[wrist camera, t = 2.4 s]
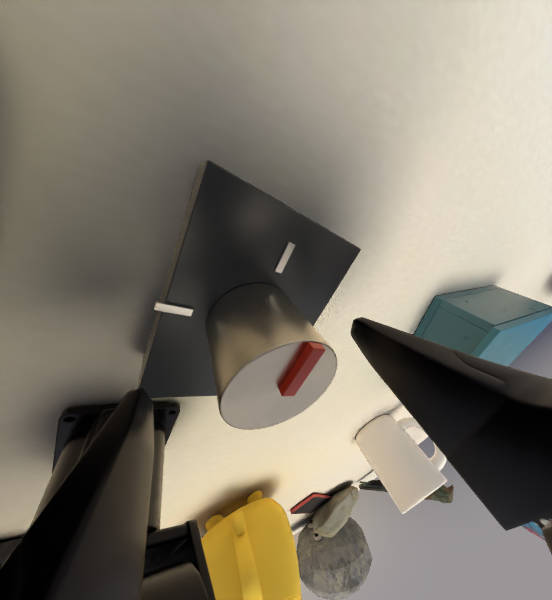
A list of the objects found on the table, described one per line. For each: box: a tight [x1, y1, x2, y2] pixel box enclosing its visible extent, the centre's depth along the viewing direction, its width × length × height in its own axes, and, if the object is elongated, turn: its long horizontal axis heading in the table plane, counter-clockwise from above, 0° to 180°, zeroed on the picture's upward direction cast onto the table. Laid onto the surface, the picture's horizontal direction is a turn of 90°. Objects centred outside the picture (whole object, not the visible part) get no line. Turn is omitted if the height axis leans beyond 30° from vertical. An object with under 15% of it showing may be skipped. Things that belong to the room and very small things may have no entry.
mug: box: [356, 415, 447, 514], centre depth 33 cm, size 12×8×10 cm
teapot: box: [201, 491, 302, 600], centre depth 26 cm, size 14×20×13 cm
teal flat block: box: [414, 285, 552, 355], centre depth 25 cm, size 12×15×5 cm
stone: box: [312, 486, 358, 537], centre depth 54 cm, size 17×6×15 cm
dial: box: [206, 283, 337, 430], centre depth 8 cm, size 4×4×4 cm
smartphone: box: [291, 494, 331, 514], centre depth 50 cm, size 7×1×14 cm
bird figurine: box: [359, 480, 453, 503], centre depth 56 cm, size 13×10×20 cm
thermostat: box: [138, 160, 361, 398], centre depth 11 cm, size 11×9×3 cm
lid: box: [471, 308, 552, 366], centre depth 21 cm, size 12×15×5 cm
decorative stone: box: [296, 517, 372, 600], centre depth 56 cm, size 18×21×10 cm
